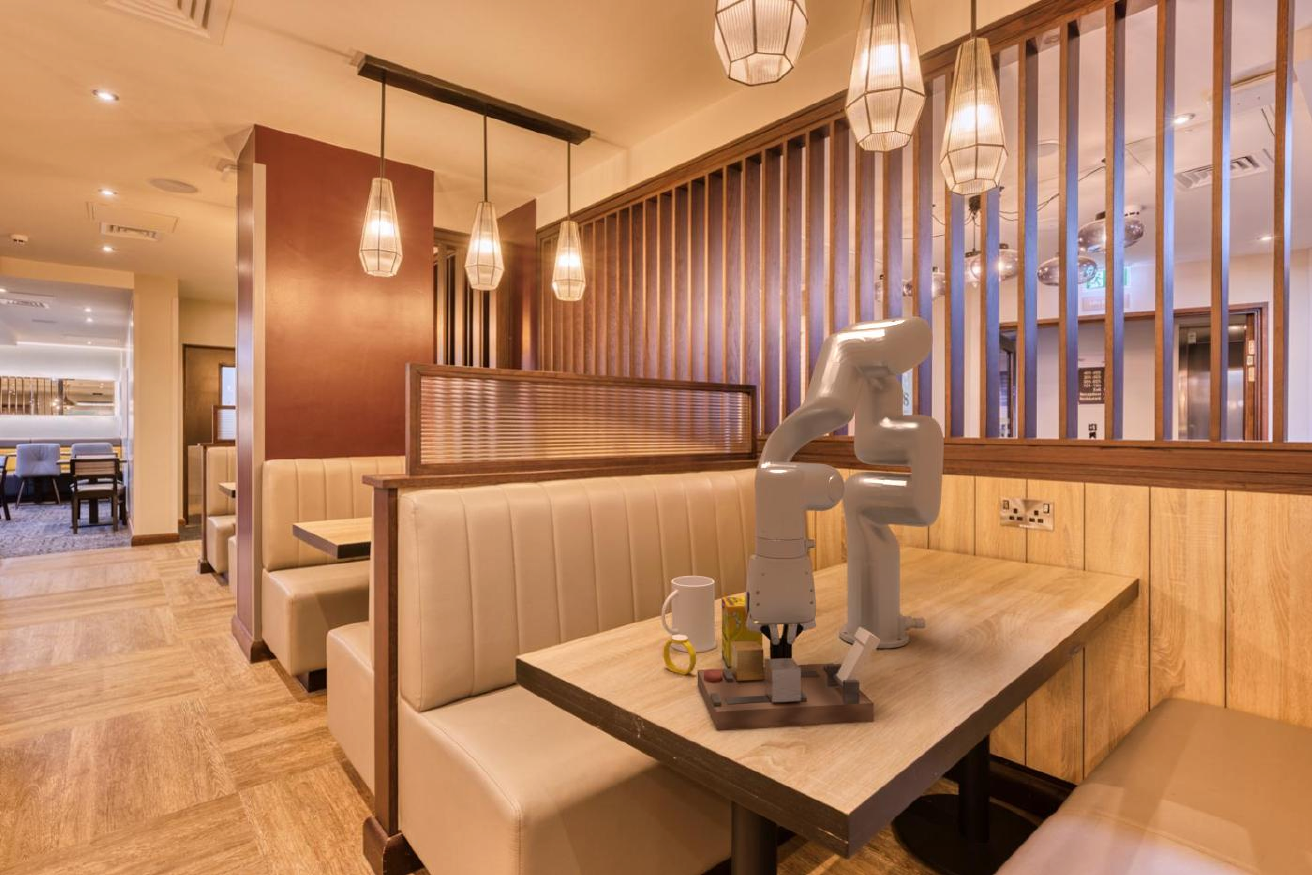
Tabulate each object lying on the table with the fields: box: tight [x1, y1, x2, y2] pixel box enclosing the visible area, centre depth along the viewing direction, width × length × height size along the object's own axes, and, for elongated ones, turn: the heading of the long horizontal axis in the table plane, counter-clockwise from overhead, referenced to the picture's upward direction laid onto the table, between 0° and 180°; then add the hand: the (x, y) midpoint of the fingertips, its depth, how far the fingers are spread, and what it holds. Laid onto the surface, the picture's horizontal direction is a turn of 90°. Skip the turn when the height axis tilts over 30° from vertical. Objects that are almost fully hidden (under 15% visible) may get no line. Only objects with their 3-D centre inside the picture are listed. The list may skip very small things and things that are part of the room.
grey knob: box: [763, 657, 801, 702], centre depth 92 cm, size 4×4×4 cm
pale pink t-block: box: [833, 626, 881, 689], centre depth 93 cm, size 2×4×9 cm, turn 7°
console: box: [697, 662, 875, 731], centre depth 96 cm, size 22×15×6 cm
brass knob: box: [731, 641, 764, 681], centre depth 99 cm, size 4×4×4 cm
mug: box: [660, 575, 717, 653], centre depth 120 cm, size 12×8×12 cm
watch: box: [662, 635, 697, 676], centre depth 108 cm, size 6×3×6 cm, turn 51°
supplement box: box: [721, 596, 763, 668], centre depth 111 cm, size 6×6×11 cm
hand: (781, 667), depth 100 cm, fingers closed
